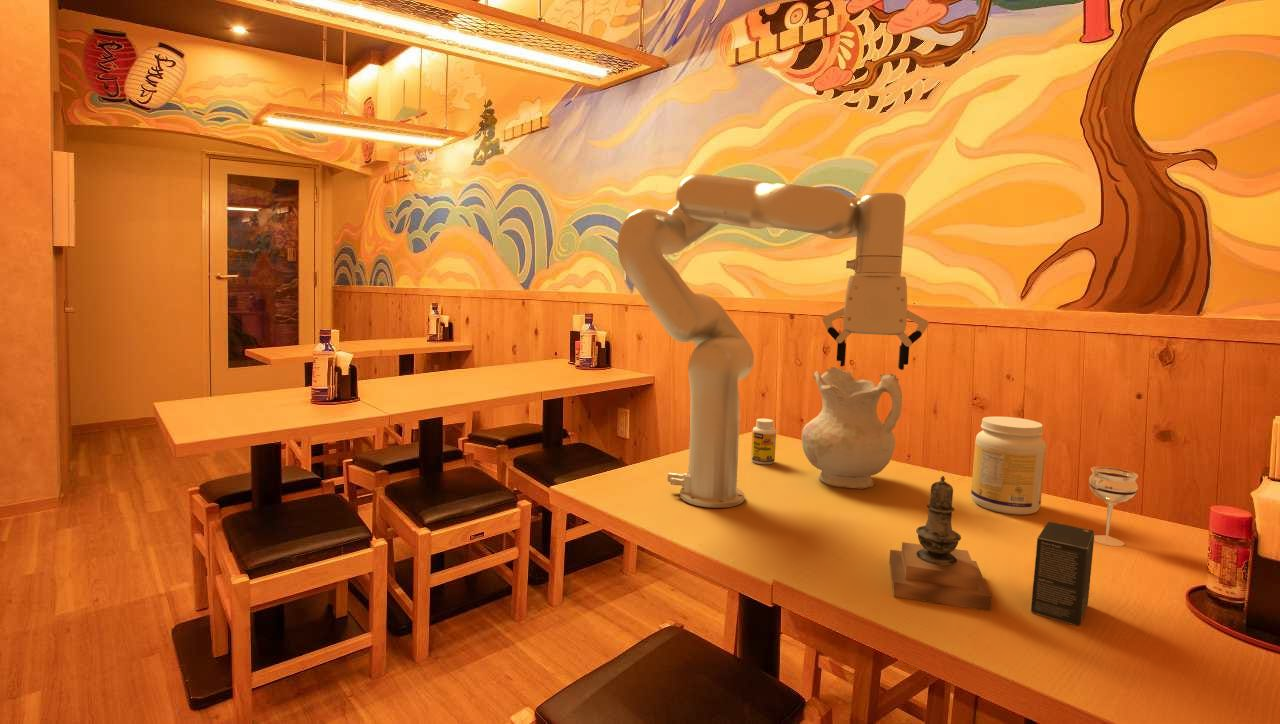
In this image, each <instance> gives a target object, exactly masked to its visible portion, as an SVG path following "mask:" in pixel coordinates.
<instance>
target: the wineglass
mask: <svg viewBox="0 0 1280 724" xmlns="http://www.w3.org/2000/svg"><path fill="white" fill-rule="evenodd" d="M1090 471H1091V473H1092V474H1091V475H1090V476H1089V479H1088V486H1089V488H1090V490H1091V492H1092V493H1094V495H1095V496H1096V497H1097V498H1099V499H1100V500H1102V501H1104V503H1105V504H1106V505H1107V507H1106V508H1107V509H1106V527H1105V535H1104V534H1094V542H1095V543H1098V544H1100V545H1106V546H1111V547H1123V546H1124V545H1125V542H1123V541H1122V540H1120V539H1119V538H1115V537H1112V536H1111V535H1109V534H1110V529H1111V522H1112V515H1113V510H1114V506H1116V505H1118V504H1120V503H1124V502H1127V501H1129V500H1130V499H1132V498H1133V497H1135V495H1136V494H1137V493H1138V489H1139V488H1138V487H1139V485H1138V484H1137V482H1136V481H1137V479H1138V478H1139V475H1138V474H1137V473H1136V472H1133V471H1129V470H1127V469H1120V468H1114V467H1108V466H1093V467H1090Z"/></svg>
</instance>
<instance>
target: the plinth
mask: <svg viewBox="0 0 1280 724" xmlns="http://www.w3.org/2000/svg"><path fill="white" fill-rule="evenodd" d="M922 549H924V547H923V546H922V545H921V544H920V543H913V542H912V543H911V542H903V541H902V543H901V550H896V549H890V550H889V560H888V562H889V570H890V578H891V579H890V580H891V586H892V593H893V597H896V598H903V599H907V600H908V599H909V600H914V601H915V600H916V601H923V602H928V603H936V604H942V605H946V606H947V605H949V606H955V607H961V608H968V609H975V610H980V611H987V612H991V609H992V597H993V596H992V594H991V592H990V590H989V587H988V584H987V583H986V581H985V579H984V576H983V574H982V572H981V570H980V567H979V564H978V562H977V561H975V560H972V558H971V555H970V553H969V550H966V549H959V548H955V550H953V551H952V552H950V554H952V555H953V556H954V557H955V558H956V559H957V562H956V563H955V564H953V565H937V564H932V563H929V562H926V561H923V560H921V559H920V558H918V556H917V554H916V553H917V551H919V550H922Z"/></svg>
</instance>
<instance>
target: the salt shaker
mask: <svg viewBox="0 0 1280 724" xmlns="http://www.w3.org/2000/svg"><path fill="white" fill-rule="evenodd" d="M939 479H940V480H939V481H936V482H933V483H932V484H931V486H930V493H929V494H930V496H929V503H927V504H926V508H927V509H928V514H927V521H926V523H925V525H921V526H919V527H916V530H915V532H916V534H917V539H918V542H919V544H921V545H922V546H923V547H924V549H922V550H919V551H917V553H916V554H917V556H918V558H920V559H921V560H923V561H926V562H929V563H932V564H937V565H953V564H955V563H956V562H957V559H956V558H955V557H954V556H953V555H952V554H950V552H952V551H953V550H955V549H957V547H958V545H959V541H961V540H962V536H961V535H960V534H959V533H958V532H957V531H955V530H953V528H952V527H953V526H952V515H953V514H952V513H954V512H955V508H954V507H953V498H954V496H953V495H954V488H953V486H952V485H951V484H950V483H949V482H947V481H946V478H945V476H944V475H942V476H941V477H940V478H939Z"/></svg>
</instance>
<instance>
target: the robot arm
mask: <svg viewBox="0 0 1280 724" xmlns="http://www.w3.org/2000/svg"><path fill="white" fill-rule="evenodd" d="M675 194H676V195H675V200H676V206H674V207H672V209H670V210H668V211H662V210H658V209H655V208H642V209H641V208H639V209H637V210H635V211H633V212H631V213H629V215H627V217H625V219H624V220H623V222H622V223H621V225H620V228H619V231H618V236H617V247H616V248H617V255H618V259H619V262H620V265H621V267H622V269H623V271H624V273H625V274H626V276H627V277H628V279H629V280H630V282H631V284H632V285H633V286H634V287H635V288H636V290H637V291H638V293H639V294H640V295H641V297H642V299H644V301H645V303H646V305H647V306H648V307H649V309H650V310H651V312H652V313H653V314H654V316H655V317H656V319H657V320H658V322H659V323H660V324H661V325H662V327H663V329H664V330H665V332H666V334H668V336H670V338H672V339H673V340H674V341H677V342H679V343H690V342H692V343H693V344H694V345H695V348H694V349H693V351H692V352H691V354H690V357H689V360H688V364H687V373H688V375H687V376H688V384H689V394H690V395H689V396H690V405H689V406H690V408H689V409H690V412H689V419H690V420H689V422H690V423H689V446H688V447H689V448H688V449H689V450H688V472H683V473H677V472H670V471H669V472H668V474H667V482H668V483H669V484H670V485H671V486H681V488H680V490H679V496H680V499H681V500H682V501H684V502H686V503H687V504H690V505H693V506H697V507H701V508H702V507H703V508H711V509H712V508H714V509H721V508H722V509H723V508H732V507H735V506H738V505H740V504H741V505H742V503H743V502H744V501H745V493H744V491H742V490H741V489H740V488H739V487H738V484H737V483H738V460H739V441H740V440H739V438H740V435H739V434H740V433H739V432H740V410H741V409H740V407H741V406H740V405H741V404H740V393H739V384H738V382H739V381H741V380H744V378H746V377H747V376H748V375H750V373H751V371H752V370H753V367H754V364H755V355H754V351H753V349H752V346H751V345H750V343H749V342H748V339H746V337H745V335H744V334H743V333H742V331H741V330H740V329H739V328H738V326H737V325H736V323H735V322H734V321H733V320H732V318H731V317H730V315H729V314H728V313H727V312H726V310H725V309H724V308H723V306H722V305H721V304H720V303H719V302H718V301H717V300H716V299H715V298H713V297H711V296H709V295H707V294H704V293H694V292H693V290H691V288H690V287H689V286H688V285H687V284H686V282H685V281H684V280H683V278H682V276H681V275H680V274H679V272H678V271H677V270H676V268H675V267H674V266H673V265H672V264H671V263H670V262H669V261H668V260H667V259H666V258H665V257H664V255H665V256H668V255H669V256H670V255H674V254H677V253H678V252H682V250H684V249H685V248H687V247H689V246H690V245H691V244H693V243H694V242H696V241H697V240H698V239H700V238H701V237H703V236H705V235H706V234H707V233H709V232H710V231H711V230H713V229H714V228H716V226H718V225H719V224H723V225H729V226H736V227H740V228H747V229H754V230H755V229H756V230H761V229H764V228H774V229H780V230H781V229H783V230H789V231H796V232H801V233H802V232H803V233H809V234H814V235H819V236H823V237H826V238H829V239H831V240H841V239H842V240H844V239H849V238H856V243H855V244H856V247H855V258H853V259H851V260H846V262H845V263H846V264H845V265H846V267H845V268H846V269H850V270H852V271H854V273H853V275H849V277H848V282H847V288H846V291H845V292H846V293H845V299H844V300H845V301H844V307H843V308H840V309H838V310H836V311H834V312H832V313H829V314H827V315H825V316H823V317H822V323H823V326H824V327H825V329H826V331H827V333H828V334H829V335H830V336H831V337H832V338H833V339H834V341H836V343H837V344H836V345H837V346H836V348H837V349H836V361H837V362H840V365H839V366H840V367H844V366H846V365H845V364H846V354H847V352H846V351H847V350H846V348H847V343H846V339H847V338H848V337H849V336H850V335H852V334H859V335H882V336H897V338H898V339H899V340H900V341H901V343H900V345H899V347H898V348H899V351H898V363H897V367H898V370H900V371H904V369H905V365H907V366H908V365H909V355H910V347H911V346H912V345H913V344H914V343H915V342H916V341H918V340H919V339H920V338H921V337H922V335H923V334H924V333H925V331H926V330H927V328H928V326H929V324H930V322H929V321H928V320H927V319H926V318H923V317H921V316H919V315H918V314H916V313H914V312H912V311H910V310H909V309H908V286H907V278H906V276H902V263H903V247H904V237H905V236H904V235H905V219H906V208H907V207H906V206H907V205H906V204H907V203H906V202H907V201H906V199H905V197H904V196H903V195H902V194H899V193H895V192H875V193H874V192H873V193H868V194H865V195H864V196H862V197H861V198H860V197H850V196H847V195H846V194H844V193H843V192H840V191H838V190H835V189H830V188H824V187H817V186H807V185H802V184H801V185H798V184H792V183H791V184H790V183H781V182H780V183H778V182H777V183H776V182H770V181H760V180H752V179H746V178H745V179H744V178H737V177H727V176H721V175H720V176H719V175H713V174H711V175H710V174H705V173H702V174H701V173H697V174H696V173H695V174H692V175H689V176H687V177H685V178H684V179H682V180H681V182H680V184H679V185H678V187H677V189H676V193H675ZM842 317H843V323H842V324H843V325H842V326H843V330H842V331H841V332H838V330H837V329H836V328H835V326H834V325H833V322H834V321H835V320H837V319H839V318H842ZM907 319H908V320H910V321H912V322H913V323H915V324H917V327H916V328H915V330H914V331H913V332H912V333H911V334H909V335H907V334H906V333H905V332H906V329H907V322H908V320H907Z"/></svg>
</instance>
